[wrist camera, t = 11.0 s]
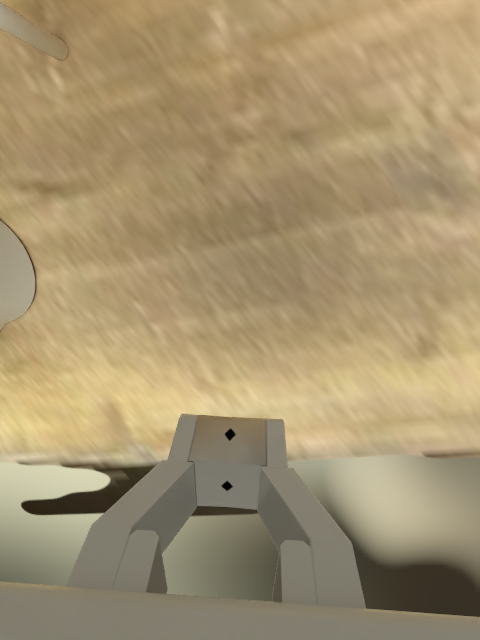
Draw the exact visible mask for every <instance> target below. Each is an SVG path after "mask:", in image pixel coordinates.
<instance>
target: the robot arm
mask: <svg viewBox="0 0 480 640" xmlns="http://www.w3.org/2000/svg"><path fill="white" fill-rule="evenodd" d="M34 293H35V276H34V271H33V267H32V263H31V261H30V258H29V256H28V254H27V252H26V250H25V248H24V246H23V245H22V243H21V242H20V240H19V239H18V238H17V237H16V235H15V234H14V233H13V232H12V231H11V230H10V229H9V228H8V227H7V226H6V225H5V224H4V223H3V222H1V221H0V330H1V329H2V328H3V326H4V325H5V324H6V323H8V322H10V321H13V320H15V319H17V318H19V317H20V316H22V315H23V314H24V313H25V312H26V311H27V310H28V308H29V307H30V305H31V303H32V300H33V297H34ZM196 506H221V507H235V508H246V509H256V510H257V512H258V513H259V515H260V517H261V519H262V521H263V523H264V525H265V527H266V529H267V531H268V532H269V534H270V536H271V538H272V540H273V542H274V544H275V546H276V548H277V550H278V552H279V558H278V564H277V570H276V577H275V583H274V590H273V596H272V597H273V598H272V601H273V602H269V601H255V600H242V599H228V598H215V597H202V596H187V595H174V594H167V583H166V577H165V570H164V565H163V558H162V553H163V552H164V550H165V549H166V548H167V547H168V545H169V544H170V543H171V541H172V540H173V539H174V537H175V536H176V535H177V533H178V532H179V531H180V529H181V528H182V527H183V525H184V524H185V522H186V521H187V520H188V519H189V517H190V516H191V515H192V513H193V512H194V510H195V509H196V508H197V507H196ZM0 640H480V617H470V616H455V615H442V614H429V613H415V612H402V611H389V610H375V609H366V607H365V602H364V597H363V593H362V588H361V584H360V579H359V574H358V571H357V565H356V561H355V556H354V551H353V547H352V543H351V542H350V540H349V539H348V538H347V537H346V535H345V534H344V533H343V532H342V530H341V529H340V527H339V526H338V525H337V524H336V522H335V521H334V520H333V519H332V517H331V516H330V515H329V514H328V512H327V511H326V510H325V508H324V507H323V506H322V505H321V503H320V502H319V501H318V500H317V498H316V497H315V496H314V494H313V493H312V492H311V491H310V489H309V488H308V487H307V485H306V484H305V483H304V482H303V480H302V479H301V478H300V476H299V475H298V474H297V473H296V471H295V470H294V469H293V468H288V466H287V452H286V440H285V428H284V421H283V420H282V419H266V420H265V419H262V418H240V417H220V416H208V415H191V414H182V415H181V416H180V418H179V421H178V425H177V428H176V432H175V435H174V439H173V443H172V446H171V450H170V453H169V457H168V460H162V461H161V462H160V463H159V464H158V465H157V466H156V467H154V468H153V469H152V470H151V471H150V472H149V473H148V474H147V475H146V476H145V477H143V478H142V479H141V480H140V481H139V482H138V483H137V484H136V485H135V486H134V487H133V488H131V489H130V490H129V491H128V492H127V493H126V494H125V495H124V496H123V497H122V498H121V499H119V500H118V501H117V502H116V503H115V504H114V505H113V506H112V507H111V508H110V509H108V510H107V511H106V512H105V513H104V514H103V515H102V516H101V517H100V518H99V519H98V520H97V521H95V522H94V523H93V524H92V526H91V528H90V530H89V533H88V535H87V537H86V540H85V542H84V544H83V547H82V549H81V552H80V554H79V556H78V559H77V561H76V563H75V566H74V568H73V570H72V572H71V575H70V577H69V580H68V582H67V584H66V586H54V585H40V584H27V583H26V584H25V583H12V582H0Z"/></svg>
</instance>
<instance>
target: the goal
mask: <svg viewBox="0 0 480 640" xmlns="http://www.w3.org/2000/svg"><path fill="white" fill-rule="evenodd" d="M0 29H1V30H3V31H5V32H7V33H9V34H11V35H13V36H15V37H17V38H19V39H20V40H22V41H24V42H26V43H28V44H30V45H32V46H34V47H36V48H38V49H40V50H41V51H43V52H45V53H47V54H49V55H51V56H53V57H55V58H57V59H59V60H64V59H66V57H67V55H68V47H67V45H66V43H65V42H64V41H62V40H61V39H59V38H57V37H56V36H54V35H53V34H51V33H49V32H48V31H46V30H44V29H43V28H41V27H40V26H38V25H36V24H35V23H33V22H31V21H30V20H28V19H27V18H25V17H23V16H22V15H20V14H18V13H17V12H15V11H14V10H12V9H10V8H9V7H7V6H5V5H4V4H2V3H1V2H0Z"/></svg>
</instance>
